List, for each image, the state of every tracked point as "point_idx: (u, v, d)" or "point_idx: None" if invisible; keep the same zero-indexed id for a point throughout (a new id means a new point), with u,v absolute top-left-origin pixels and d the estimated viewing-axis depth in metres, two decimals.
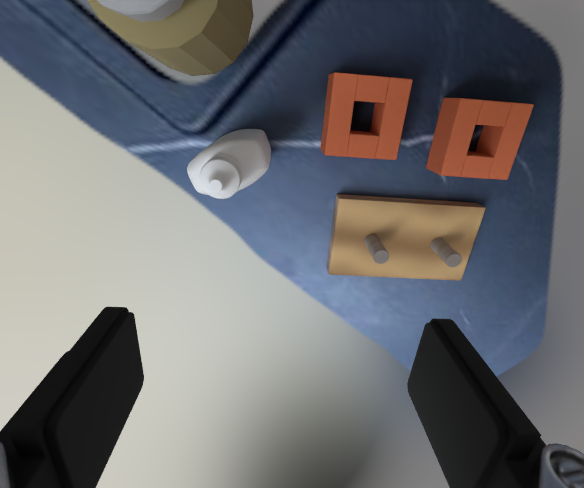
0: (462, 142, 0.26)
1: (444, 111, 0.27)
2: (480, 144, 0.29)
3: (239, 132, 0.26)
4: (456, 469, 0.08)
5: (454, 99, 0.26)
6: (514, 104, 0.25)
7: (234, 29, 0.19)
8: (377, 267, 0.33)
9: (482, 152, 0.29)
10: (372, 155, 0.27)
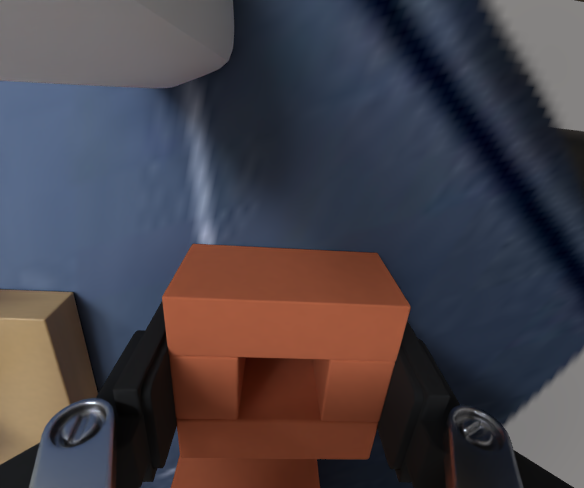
0: None
1: (292, 468, 0.14)
2: None
3: None
4: (388, 435, 0.09)
5: None
6: None
7: None
8: None
9: None
10: (183, 413, 0.09)
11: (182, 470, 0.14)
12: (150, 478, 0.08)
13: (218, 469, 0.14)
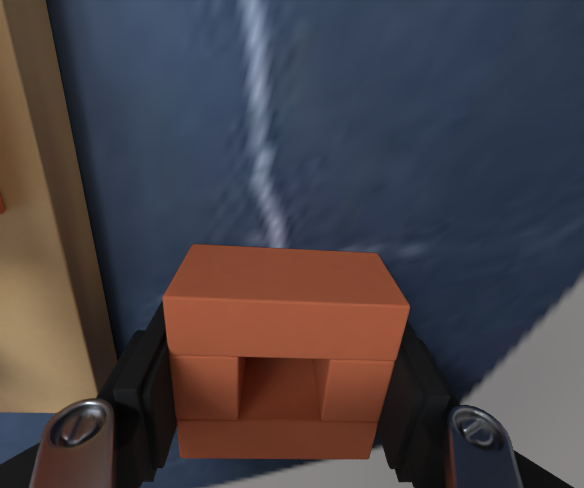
0: (277, 338, 0.08)
1: (350, 263, 0.10)
2: (265, 358, 0.12)
3: None
4: (388, 435, 0.09)
5: (394, 286, 0.09)
6: (374, 426, 0.10)
7: None
8: None
9: (247, 372, 0.11)
10: None
11: (194, 257, 0.09)
12: (150, 478, 0.08)
13: (245, 259, 0.10)
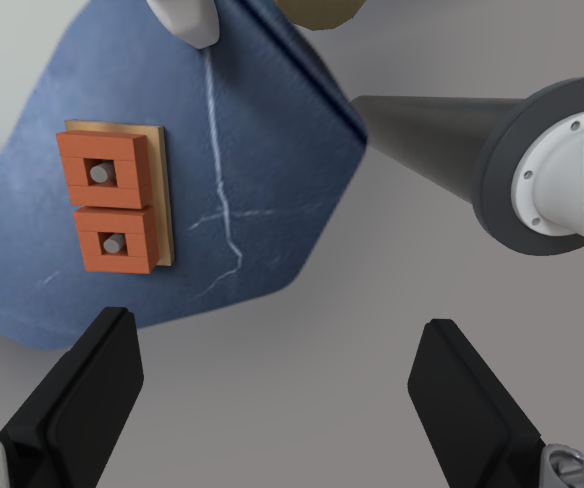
0: (107, 225, 0.29)
1: None
2: None
3: (212, 7, 0.24)
4: (456, 469, 0.08)
5: (145, 212, 0.30)
6: (146, 259, 0.31)
7: (297, 2, 0.20)
8: None
9: None
10: (68, 182, 0.28)
11: None
12: None
13: None
